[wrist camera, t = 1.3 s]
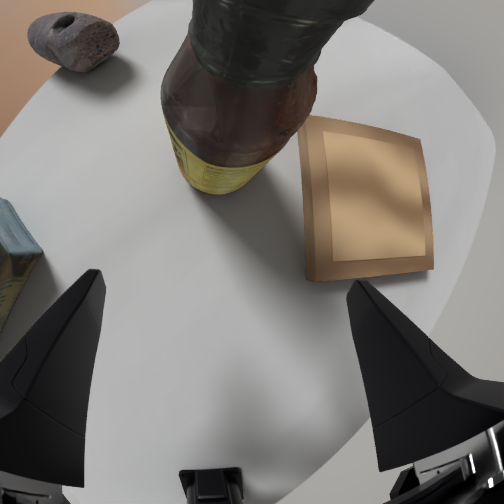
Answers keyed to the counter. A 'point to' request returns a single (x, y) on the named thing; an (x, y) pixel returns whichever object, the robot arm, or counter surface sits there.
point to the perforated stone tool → (73, 40)
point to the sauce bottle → (245, 83)
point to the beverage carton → (14, 257)
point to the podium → (363, 201)
